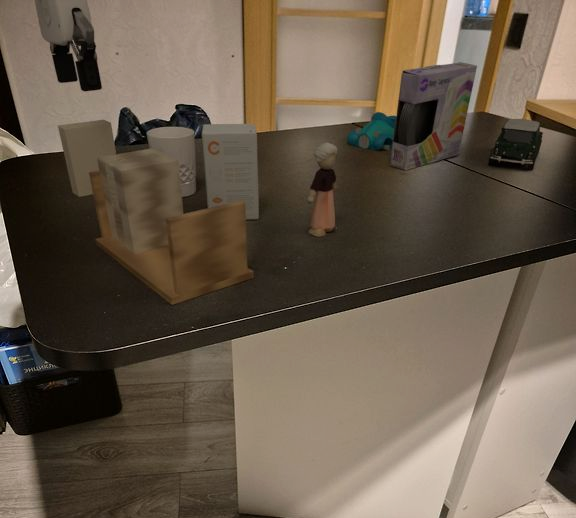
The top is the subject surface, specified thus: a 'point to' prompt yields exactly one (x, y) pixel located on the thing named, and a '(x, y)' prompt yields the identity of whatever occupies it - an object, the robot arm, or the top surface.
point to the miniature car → (518, 142)
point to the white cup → (177, 152)
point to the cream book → (85, 151)
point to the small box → (231, 165)
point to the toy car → (374, 133)
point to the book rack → (166, 228)
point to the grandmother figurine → (323, 191)
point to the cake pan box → (431, 114)
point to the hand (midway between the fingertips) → (79, 85)
